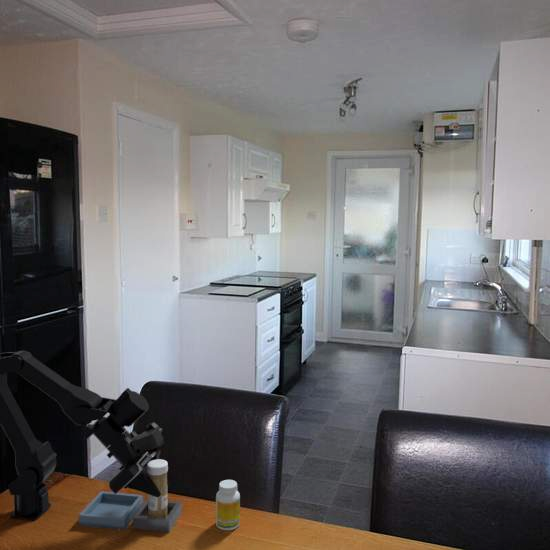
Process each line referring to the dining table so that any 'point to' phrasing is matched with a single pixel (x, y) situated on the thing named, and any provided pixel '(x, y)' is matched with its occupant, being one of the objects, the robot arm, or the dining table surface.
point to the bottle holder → (157, 523)
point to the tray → (111, 510)
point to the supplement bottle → (227, 505)
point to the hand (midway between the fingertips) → (163, 490)
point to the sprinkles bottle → (159, 478)
